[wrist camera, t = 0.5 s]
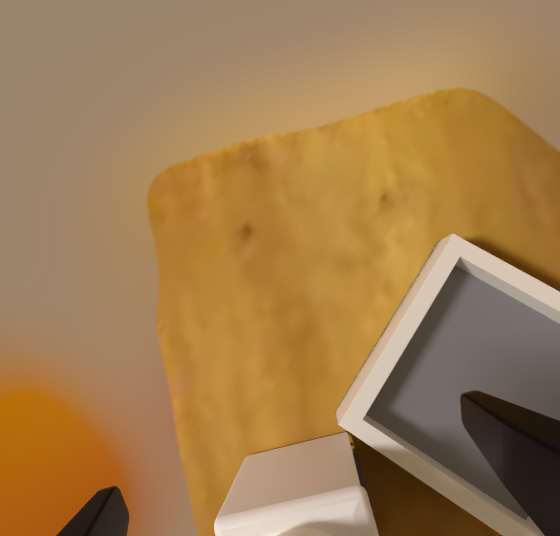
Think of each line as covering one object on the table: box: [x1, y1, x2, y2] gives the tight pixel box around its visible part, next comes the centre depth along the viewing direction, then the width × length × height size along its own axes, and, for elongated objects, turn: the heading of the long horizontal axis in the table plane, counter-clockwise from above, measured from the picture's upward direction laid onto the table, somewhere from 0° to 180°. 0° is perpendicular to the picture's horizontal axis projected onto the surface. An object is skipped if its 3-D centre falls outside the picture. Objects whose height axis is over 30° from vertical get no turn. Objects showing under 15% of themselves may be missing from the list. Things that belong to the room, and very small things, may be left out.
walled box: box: [336, 234, 560, 536], centre depth 20 cm, size 13×13×2 cm
